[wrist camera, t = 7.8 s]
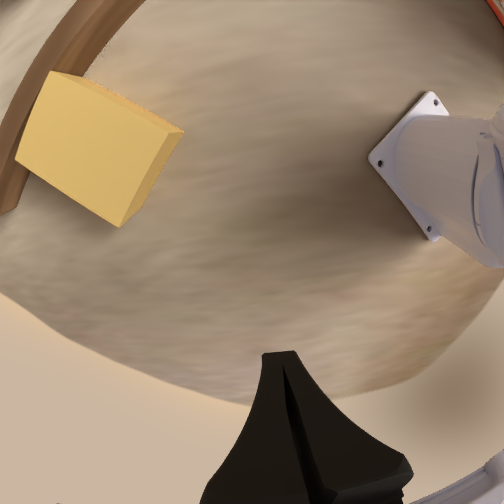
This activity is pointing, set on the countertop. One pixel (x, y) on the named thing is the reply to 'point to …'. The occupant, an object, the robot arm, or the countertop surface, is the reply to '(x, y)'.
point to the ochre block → (95, 146)
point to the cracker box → (498, 9)
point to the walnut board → (59, 60)
